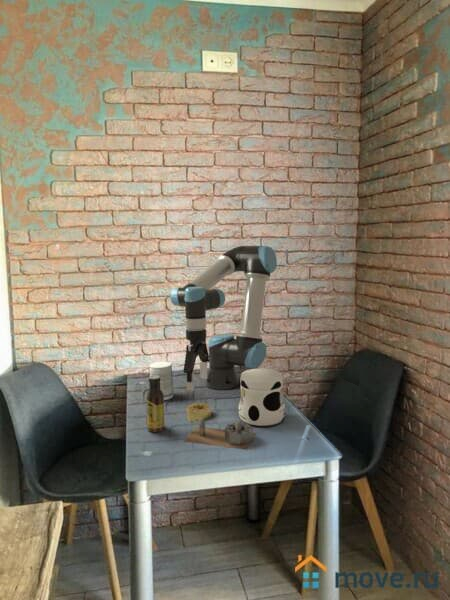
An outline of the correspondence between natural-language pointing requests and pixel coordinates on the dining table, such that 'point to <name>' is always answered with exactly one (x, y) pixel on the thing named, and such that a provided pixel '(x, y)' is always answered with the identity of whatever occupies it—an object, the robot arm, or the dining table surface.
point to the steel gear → (238, 434)
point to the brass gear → (198, 411)
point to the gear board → (213, 435)
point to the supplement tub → (164, 377)
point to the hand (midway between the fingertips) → (197, 384)
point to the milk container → (261, 397)
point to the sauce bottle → (155, 405)
